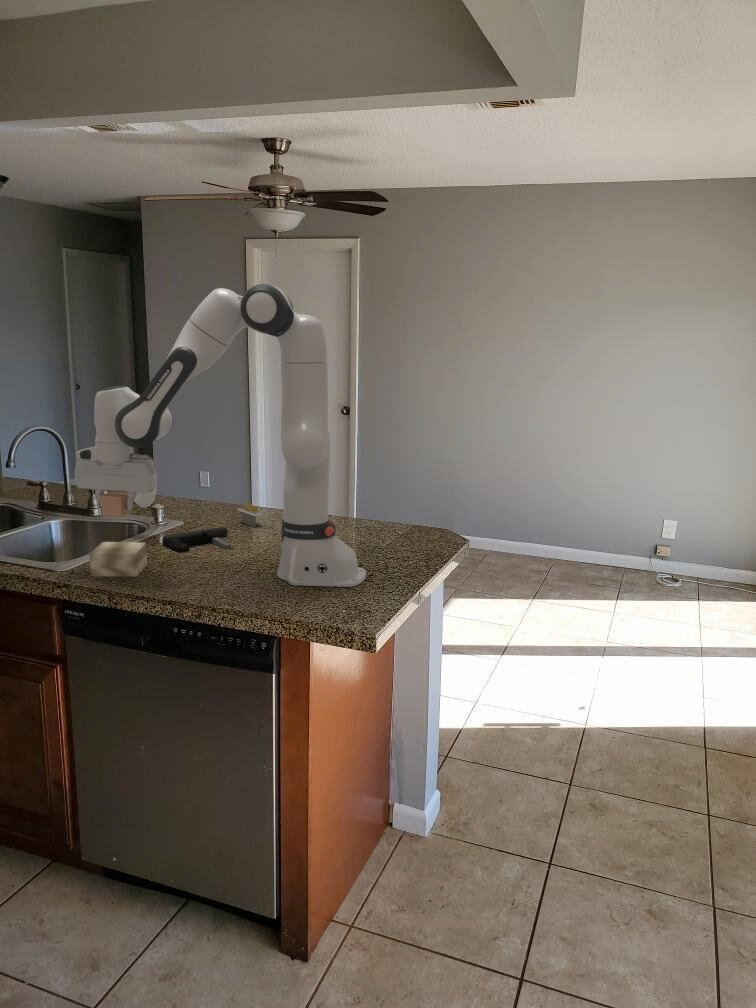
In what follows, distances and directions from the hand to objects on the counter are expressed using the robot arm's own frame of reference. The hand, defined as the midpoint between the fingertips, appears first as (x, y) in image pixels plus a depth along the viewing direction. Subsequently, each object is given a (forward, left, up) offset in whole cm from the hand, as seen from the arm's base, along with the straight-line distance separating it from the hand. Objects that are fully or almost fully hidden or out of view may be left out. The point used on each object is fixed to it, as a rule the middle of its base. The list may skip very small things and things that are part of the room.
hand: (116, 507), depth 195 cm
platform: (-15, -56, -17) cm, 60 cm away
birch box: (0, 0, -16) cm, 16 cm away
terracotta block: (0, 0, -2) cm, 2 cm away
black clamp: (-10, -29, -17) cm, 35 cm away
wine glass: (+9, -31, -16) cm, 36 cm away
